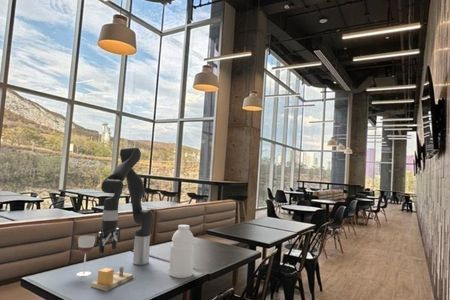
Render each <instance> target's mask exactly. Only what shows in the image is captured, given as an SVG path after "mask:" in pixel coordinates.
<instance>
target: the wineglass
mask: <svg viewBox="0 0 450 300" xmlns="http://www.w3.org/2000/svg"><path fill="white" fill-rule="evenodd" d="M77 239H78V240H77V245H78V249H79V251H80V252H82V253H84V258H83V271H80V272H77V273H76V276H77V277H87V276H91V275H92V272H90V271H86V261H87V254H88V253H90V252H91V251H92V250H93V249H94V245H95V244H96V242H95V241H96V236H95V235H81V236H78V237H77Z"/></svg>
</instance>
